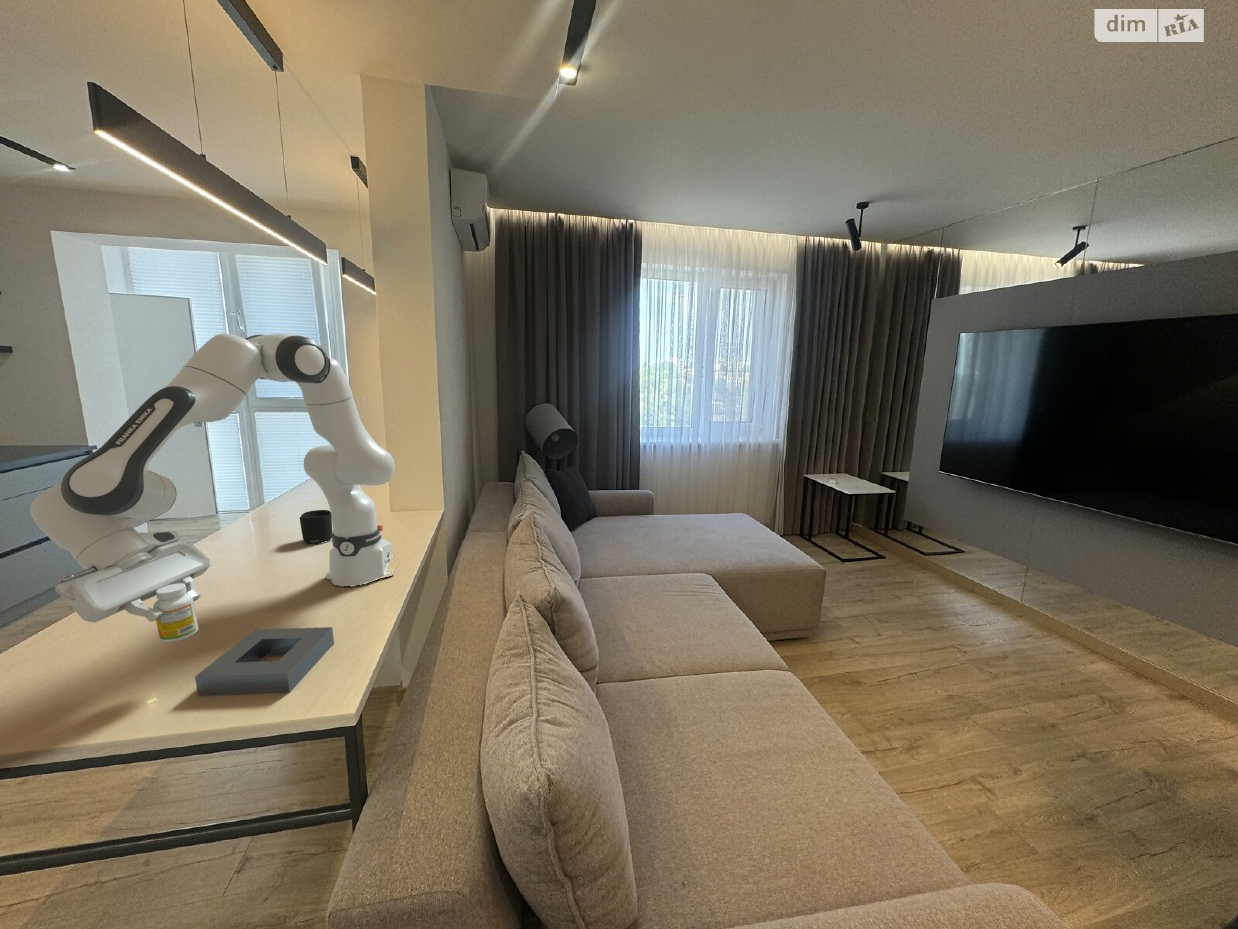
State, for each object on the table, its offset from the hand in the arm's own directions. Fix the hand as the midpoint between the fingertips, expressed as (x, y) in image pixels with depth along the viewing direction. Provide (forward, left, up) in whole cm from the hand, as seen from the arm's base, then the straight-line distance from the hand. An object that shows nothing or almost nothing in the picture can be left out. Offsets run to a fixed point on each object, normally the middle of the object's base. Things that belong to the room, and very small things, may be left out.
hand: (177, 608), depth 86 cm
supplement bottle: (0, -1, -6) cm, 6 cm away
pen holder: (-77, -17, -15) cm, 80 cm away
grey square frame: (-3, +13, -15) cm, 20 cm away
